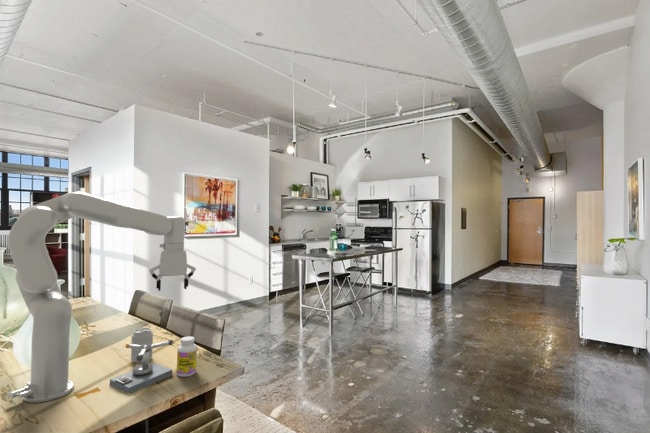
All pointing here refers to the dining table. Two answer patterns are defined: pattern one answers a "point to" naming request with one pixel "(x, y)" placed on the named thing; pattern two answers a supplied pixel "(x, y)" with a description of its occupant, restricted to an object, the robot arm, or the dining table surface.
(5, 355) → the dining table surface
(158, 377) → the stand
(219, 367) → the dining table surface
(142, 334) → the can
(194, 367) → the supplement bottle
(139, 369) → the capstan
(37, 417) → the dining table surface
